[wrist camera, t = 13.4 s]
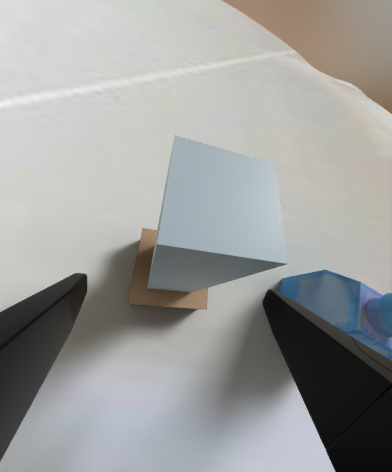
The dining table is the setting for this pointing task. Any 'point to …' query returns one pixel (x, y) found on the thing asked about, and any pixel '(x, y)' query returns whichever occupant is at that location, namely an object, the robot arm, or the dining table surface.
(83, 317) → the dining table surface
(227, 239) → the slate-blue post
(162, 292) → the walnut plinth
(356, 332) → the perfume bottle
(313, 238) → the dining table surface
